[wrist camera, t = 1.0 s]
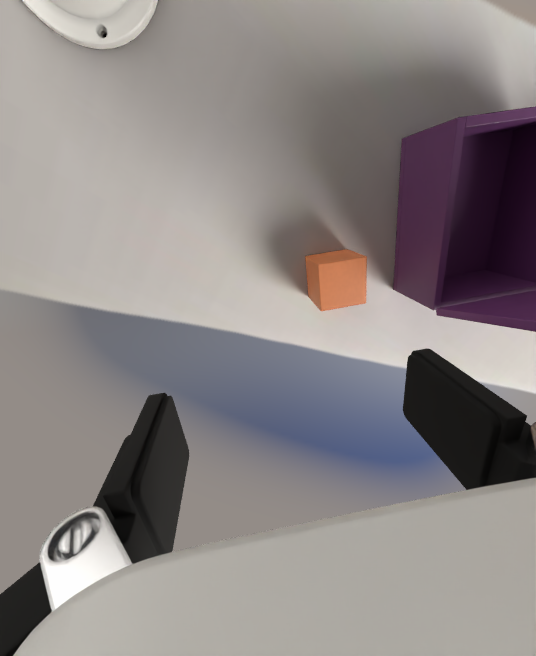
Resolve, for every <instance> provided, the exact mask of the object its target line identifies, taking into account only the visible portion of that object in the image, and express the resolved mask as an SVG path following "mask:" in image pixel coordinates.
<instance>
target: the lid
mask: <svg viewBox="0 0 536 656" xmlns="http://www.w3.org/2000/svg"><path fill="white" fill-rule="evenodd" d="M436 313H437V315H438V316H444V317H450V318H456V319H462V320H468V321H474V322H481V323H487V324H493V325H499V326H505V327H511V328H517V329H523V330H529V331H535V332H536V290H533V291H528V292H522V293H517V294H511V295H506V296H500V297H495V298H490V299H484V300H479V301H473V302H468V303H462V304H457V305H452V306H446V307H441V308H436Z"/></svg>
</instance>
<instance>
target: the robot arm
mask: <svg viewBox="0 0 536 656" xmlns="http://www.w3.org/2000/svg"><path fill="white" fill-rule="evenodd" d="M22 1H23V2H24V4H25V5H26V6H27V7H28V8H29V9H30V10H31V11H32V12H33V13H34V14H35V15H36V16H37V17H38V18H39V19H40V20H41V21H43V22H44V23H45V24H46V25H47V26H48V27H50V28H51V29H52V30H53V31H55V32H56V33H58V34H59V35H61V36H63V37H64V38H66V39H67V40H69V41H72V42H74V43H76V44H79V45H81V46H84V47H89V48H95V49H113V48H116V47H119V46H122V45H125V44H127V43H129V42H130V41H132V40H133V39H135V38H136V37H137V36H138V35H139V34H140V33H141V32H142V31H143V30H144V29H145V28H146V27H147V25H148V23H149V21H150V20H151V18H152V16H153V14H154V12H155V9H156V6H157V3H158V0H22ZM105 33H106V34H107V36H106V37H105V38H103V34H105ZM403 412H404V415H405V417H406V418H407V420H408V421H409V422H410V423H411V425H412V426H413V427H414V428H415V429H416V430H417V432H418V433H419V434H420V435H421V436H422V437H423V439H424V440H425V441H426V442H427V443H428V445H429V446H430V447H431V448H432V449H433V451H434V452H435V453H436V454H437V455H438V456H439V457H440V459H441V460H442V461H443V462H444V464H445V465H446V466H447V467H448V468H449V469H450V471H451V472H452V473H453V474H454V475H455V477H456V478H457V479H458V480H459V481H460V482H461V484H462V485H463V486H464V487H465V488H466V490H465V491H460V492H454V493H449V494H444V495H439V496H434V497H429V498H424V499H419V500H414V501H409V502H404V503H399V504H394V505H389V506H384V507H379V508H374V509H369V510H364V511H360V512H355V513H350V514H345V515H340V516H335V517H330V518H326V519H320V520H316V521H311V522H306V523H301V524H297V525H292V526H287V527H282V528H278V529H272V530H268V531H263V532H259V533H253V534H249V535H245V536H239V537H234V538H230V539H225V540H221V541H217V542H213V543H208V544H203V545H199V546H195V547H190V548H186V549H182V550H178V551H173V552H172V550H173V544H174V538H175V533H176V527H177V522H178V516H179V511H180V505H181V499H182V493H183V488H184V482H185V476H186V471H187V466H188V460H189V449H188V445H187V443H186V439H185V436H184V433H183V430H182V427H181V423H180V420H179V417H178V414H177V411H176V407H175V404H174V401H173V398H172V397H171V396H167V394H165V393H160V394H155V395H150V396H148V398H147V400H146V403H145V405H144V407H143V409H142V411H141V413H140V415H139V418H138V420H137V422H136V424H135V426H134V429H133V431H132V433H131V435H129V436H127V437H126V438H125V440H124V442H123V444H122V446H121V448H120V450H119V452H118V454H117V457H116V459H115V461H114V463H113V465H112V467H111V469H110V471H109V473H108V475H107V478H106V480H105V482H104V484H103V486H102V488H101V490H100V492H99V494H98V496H97V499H96V501H95V503H94V505H93V506H92V507H86V508H83V509H80V510H78V511H76V512H74V513H72V514H71V515H69V516H67V517H66V518H65V519H64V520H62V522H60V523H59V524H58V525H57V526H56V527H55V528H54V529H53V530H52V532H50V534H49V535H48V537H47V538H46V540H45V541H44V543H43V546H42V548H41V551H40V562H39V563H38V564H37V565H36V566H34V567H33V568H32V569H31V570H30V571H28V572H27V573H26V574H25V575H23V576H22V577H21V578H20V579H19V580H17V581H16V582H15V583H14V584H12V585H11V586H10V587H9V588H7V589H6V590H5V591H4V592H3V593H1V594H0V656H536V422H535V423H534V424H533V425H531V426H530V425H529V424H528V423H526V422H525V421H526V418H527V415H525V414H523V413H522V412H521V411H519V410H518V409H516V408H515V407H513V406H512V405H511V404H509V403H508V402H506V401H505V400H503V399H502V398H500V397H499V396H497V395H496V394H495V393H493V392H492V391H490V390H489V389H487V388H486V387H484V386H483V385H482V384H480V383H479V382H477V381H476V380H474V379H473V378H471V377H470V376H469V375H467V374H466V373H464V372H463V371H461V370H460V369H458V368H457V367H455V366H454V365H453V364H451V363H450V362H448V361H447V360H445V359H444V358H442V357H441V356H440V355H438V354H437V353H435V352H434V351H432V350H431V349H422V350H416V351H413V352H412V354H411V355H410V356H409V357H408V362H407V373H406V383H405V393H404V404H403Z"/></svg>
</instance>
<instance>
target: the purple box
mask: <svg viewBox="0 0 536 656" xmlns="http://www.w3.org/2000/svg"><path fill="white" fill-rule="evenodd" d="M393 290H395V291H397V292H399V293H401V294H403V295H405V296H407V297H409V298H411V299H413V300H415V301H417V302H419V303H420V304H422V305H424V306H426V307H428V308H430V309H432V310H436V308H441V307H446V306H452V305H457V304H462V303H468V302H473V301H479V300H484V299H490V298H495V297H500V296H506V295H511V294H517V293H522V292H528V291H533V290H536V107H529V108H522V109H515V110H508V111H501V112H493V113H486V114H479V115H472V116H465V117H458V118H455V119H453V120H450V121H447V122H445V123H442V124H439V125H437V126H434V127H431V128H429V129H426V130H423V131H421V132H418V133H416V134H413V135H410V136H408V137H405V138H402V145H401V162H400V180H399V197H398V214H397V231H396V249H395V266H394V283H393Z"/></svg>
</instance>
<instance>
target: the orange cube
mask: <svg viewBox="0 0 536 656" xmlns="http://www.w3.org/2000/svg"><path fill="white" fill-rule="evenodd" d="M305 259H306V271H307V284H308V297H309V298H310V299H311V300H312V302H313V303H314V304H315V305H316V306H317V307H318V308H319V310H320V311H325V310H331V309H337V308H342V307H348V306H353V305H359V304H364V303H366V270H367V257H366V256H364V255H361V254H359V253H356V252H353V251H351V250H348V249H344V250H338V251H332V252H326V253H320V254H314V255H308V256H305Z"/></svg>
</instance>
